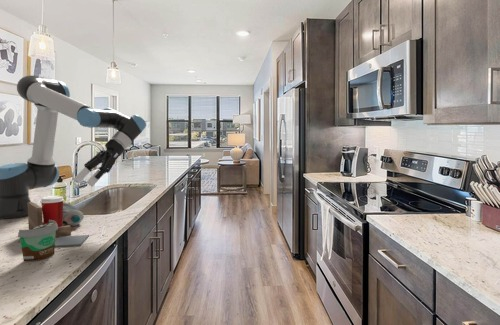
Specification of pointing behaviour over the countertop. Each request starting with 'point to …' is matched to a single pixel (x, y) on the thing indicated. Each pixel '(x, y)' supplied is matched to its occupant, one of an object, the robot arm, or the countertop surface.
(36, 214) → the walnut rack
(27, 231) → the food container
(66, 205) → the crushed grey plastic bottle
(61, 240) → the charcoal mat
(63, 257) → the countertop surface
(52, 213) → the paper cup
